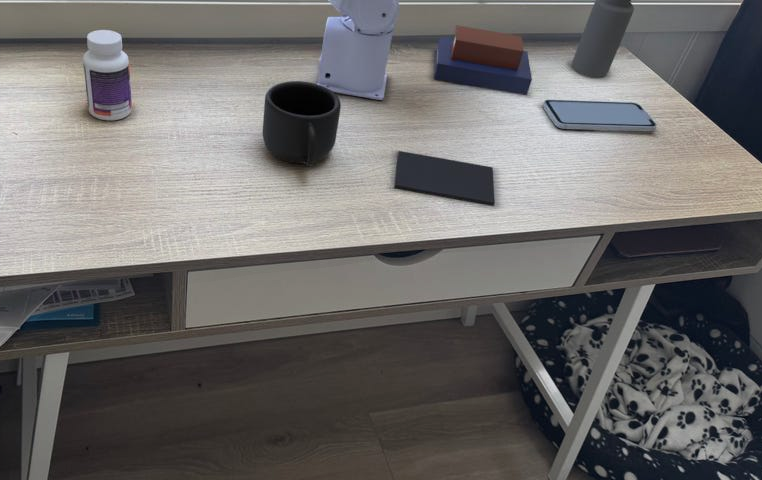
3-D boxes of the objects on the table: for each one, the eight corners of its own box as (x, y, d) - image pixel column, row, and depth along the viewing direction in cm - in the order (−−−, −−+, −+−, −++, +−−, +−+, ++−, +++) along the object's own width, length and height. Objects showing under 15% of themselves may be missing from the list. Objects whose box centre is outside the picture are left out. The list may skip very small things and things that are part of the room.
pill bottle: (140, 113, 94) (137, 39, 87) (105, 126, 91) (98, 50, 84) (115, 96, 96) (109, 23, 90) (79, 108, 93) (71, 33, 86)
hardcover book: (433, 79, 110) (437, 63, 108) (435, 51, 117) (439, 36, 116) (526, 95, 109) (532, 79, 108) (522, 66, 117) (527, 51, 115)
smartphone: (541, 99, 107) (638, 102, 109) (539, 105, 108) (635, 108, 110) (558, 124, 102) (659, 127, 104) (556, 130, 102) (657, 133, 104)
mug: (256, 131, 93) (260, 79, 89) (325, 131, 95) (332, 80, 90) (270, 185, 85) (275, 131, 80) (345, 184, 87) (354, 131, 82)
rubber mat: (394, 187, 88) (394, 185, 87) (398, 153, 93) (398, 150, 93) (494, 205, 87) (494, 202, 87) (491, 169, 93) (492, 167, 93)
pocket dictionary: (451, 59, 110) (456, 39, 108) (451, 44, 114) (456, 25, 112) (517, 70, 109) (523, 51, 107) (515, 55, 113) (521, 36, 111)
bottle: (578, 58, 121) (614, -37, 111) (612, 70, 119) (652, -25, 109) (565, 69, 118) (601, -28, 107) (600, 81, 115) (640, -16, 105)
